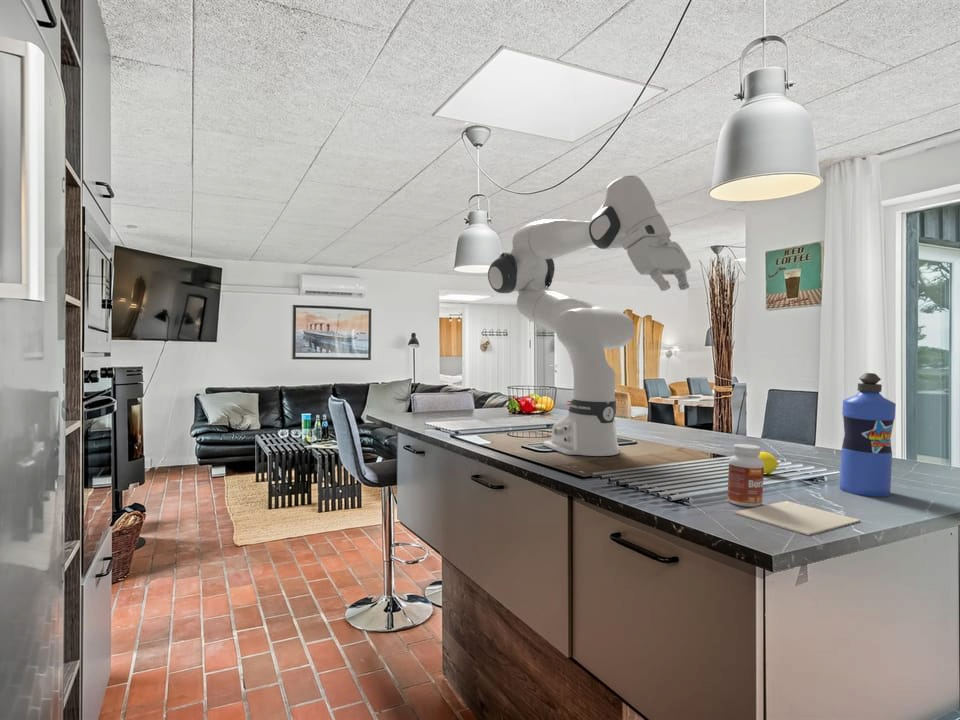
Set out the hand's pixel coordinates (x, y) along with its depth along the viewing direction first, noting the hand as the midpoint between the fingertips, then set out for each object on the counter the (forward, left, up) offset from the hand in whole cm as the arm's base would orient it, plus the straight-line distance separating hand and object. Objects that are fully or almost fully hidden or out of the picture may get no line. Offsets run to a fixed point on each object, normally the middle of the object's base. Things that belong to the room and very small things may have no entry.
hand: (676, 289), depth 136 cm
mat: (+34, -6, -43) cm, 54 cm away
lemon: (+9, +21, -43) cm, 49 cm away
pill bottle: (+23, -6, -43) cm, 49 cm away
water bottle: (+29, +26, -43) cm, 58 cm away
